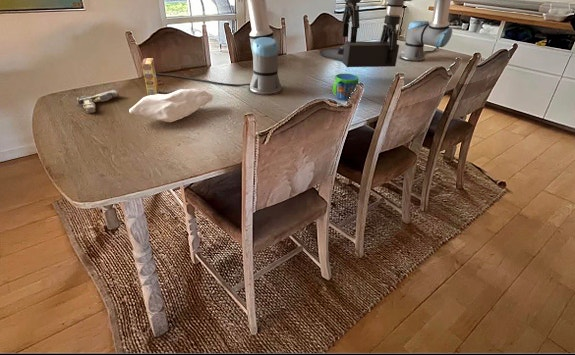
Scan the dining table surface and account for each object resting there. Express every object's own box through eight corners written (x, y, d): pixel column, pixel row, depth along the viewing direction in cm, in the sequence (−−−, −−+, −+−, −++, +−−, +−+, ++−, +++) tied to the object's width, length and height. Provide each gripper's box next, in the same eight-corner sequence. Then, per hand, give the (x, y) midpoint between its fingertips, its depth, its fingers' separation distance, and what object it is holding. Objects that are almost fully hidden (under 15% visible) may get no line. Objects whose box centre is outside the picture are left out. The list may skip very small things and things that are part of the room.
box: (347, 67, 188) (349, 45, 182) (342, 62, 195) (344, 41, 190) (395, 66, 192) (399, 45, 186) (388, 62, 200) (392, 41, 194)
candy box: (157, 97, 164) (152, 63, 155) (147, 98, 163) (141, 63, 155) (158, 91, 171) (153, 57, 163) (149, 91, 170) (143, 58, 162)
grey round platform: (383, 57, 237) (385, 42, 233) (344, 64, 220) (345, 48, 215) (347, 49, 262) (348, 36, 257) (309, 54, 245) (309, 40, 240)
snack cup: (349, 91, 180) (352, 71, 174) (364, 98, 172) (367, 77, 167) (324, 97, 172) (326, 75, 167) (338, 104, 165) (341, 82, 159)
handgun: (128, 97, 156) (111, 87, 164) (86, 107, 144) (70, 97, 152) (129, 103, 157) (113, 94, 165) (88, 114, 146) (72, 103, 154)
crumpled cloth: (117, 110, 146) (113, 90, 140) (195, 92, 166) (194, 73, 160) (143, 139, 134) (140, 118, 128) (223, 116, 154) (224, 96, 148)
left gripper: (369, -5, 162) (364, 45, 174) (352, -11, 183) (348, 34, 194) (353, -4, 161) (349, 45, 173) (338, -11, 182) (335, 34, 193)
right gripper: (409, 19, 174) (400, 66, 186) (391, 11, 192) (383, 55, 204) (394, 19, 173) (386, 66, 185) (378, 11, 190) (371, 55, 203)
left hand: (348, 39), depth 183 cm, fingers open, 13 cm apart
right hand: (385, 60), depth 194 cm, fingers closed on box, 9 cm apart
